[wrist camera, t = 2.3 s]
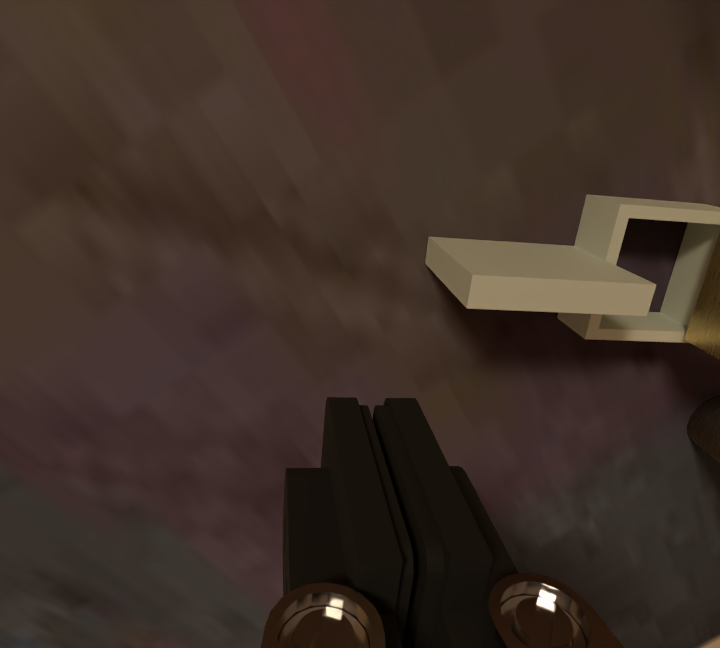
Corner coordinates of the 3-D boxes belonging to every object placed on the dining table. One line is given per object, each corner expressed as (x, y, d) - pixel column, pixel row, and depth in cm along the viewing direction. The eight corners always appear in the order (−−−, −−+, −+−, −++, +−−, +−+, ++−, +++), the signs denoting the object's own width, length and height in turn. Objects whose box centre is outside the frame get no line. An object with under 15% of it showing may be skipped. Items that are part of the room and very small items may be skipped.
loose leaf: (703, 204, 29) (821, 230, 22) (666, 322, 31) (762, 376, 25) (436, 182, 26) (484, 205, 20) (418, 312, 29) (456, 369, 22)
